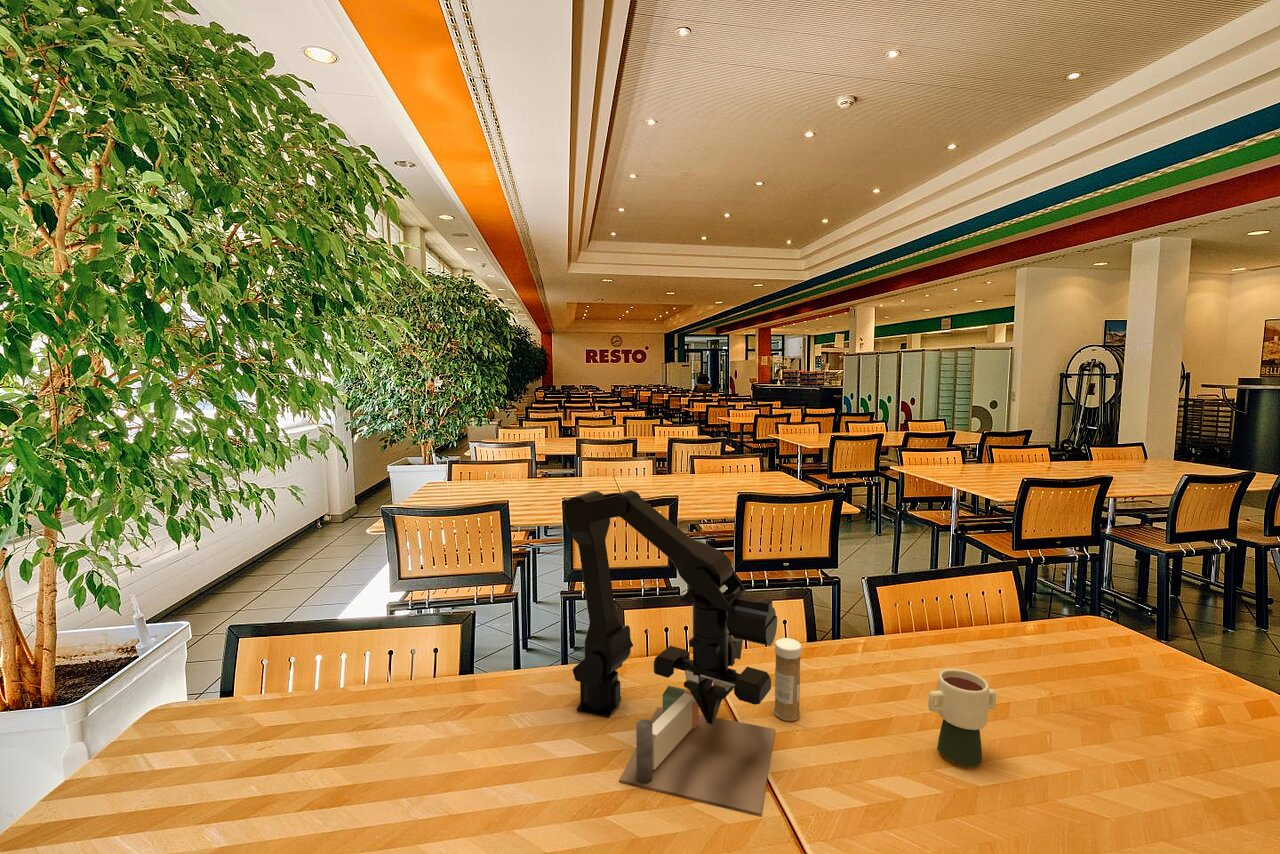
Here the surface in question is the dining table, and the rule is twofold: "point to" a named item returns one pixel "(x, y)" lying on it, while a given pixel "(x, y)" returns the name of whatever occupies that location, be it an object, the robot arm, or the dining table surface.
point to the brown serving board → (706, 761)
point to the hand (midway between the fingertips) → (710, 722)
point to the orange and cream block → (673, 726)
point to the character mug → (961, 714)
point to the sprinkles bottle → (787, 679)
